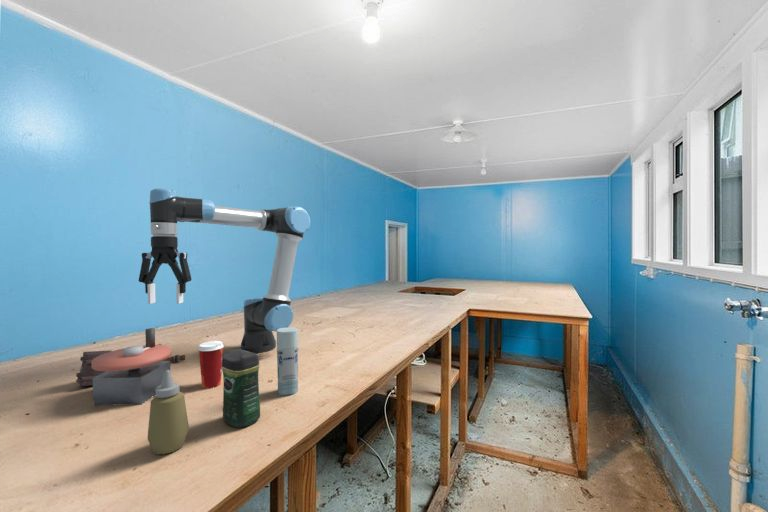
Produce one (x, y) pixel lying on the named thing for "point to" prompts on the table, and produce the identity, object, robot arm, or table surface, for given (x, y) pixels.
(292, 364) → the spray paint can
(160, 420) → the squeeze bottle
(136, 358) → the handwheel
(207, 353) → the paper cup
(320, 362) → the table surface
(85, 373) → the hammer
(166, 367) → the grey box
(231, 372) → the coffee jar
